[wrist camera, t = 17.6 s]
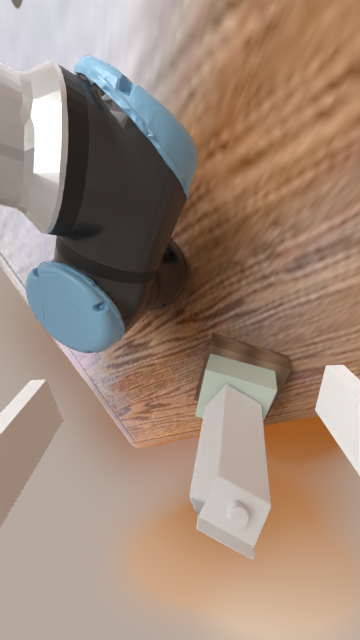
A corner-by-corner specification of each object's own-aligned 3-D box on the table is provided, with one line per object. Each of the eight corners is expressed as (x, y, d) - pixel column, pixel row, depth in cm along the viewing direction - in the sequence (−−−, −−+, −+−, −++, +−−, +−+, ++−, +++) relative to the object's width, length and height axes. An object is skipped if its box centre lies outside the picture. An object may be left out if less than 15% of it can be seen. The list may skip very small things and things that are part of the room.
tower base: (198, 384, 54) (193, 399, 49) (213, 332, 46) (209, 344, 42) (261, 406, 51) (262, 424, 47) (288, 354, 44) (291, 370, 39)
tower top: (200, 397, 49) (195, 415, 44) (210, 353, 43) (205, 369, 39) (256, 415, 46) (256, 436, 42) (275, 371, 40) (277, 390, 36)
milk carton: (237, 423, 42) (235, 565, 26) (205, 405, 42) (181, 536, 25) (261, 403, 38) (276, 554, 22) (226, 382, 38) (213, 519, 22)
